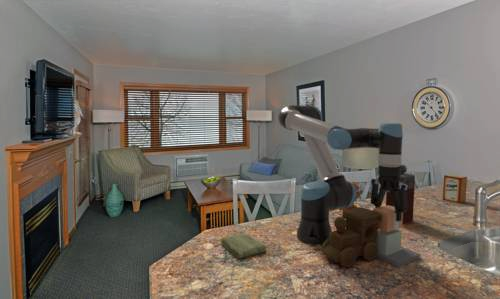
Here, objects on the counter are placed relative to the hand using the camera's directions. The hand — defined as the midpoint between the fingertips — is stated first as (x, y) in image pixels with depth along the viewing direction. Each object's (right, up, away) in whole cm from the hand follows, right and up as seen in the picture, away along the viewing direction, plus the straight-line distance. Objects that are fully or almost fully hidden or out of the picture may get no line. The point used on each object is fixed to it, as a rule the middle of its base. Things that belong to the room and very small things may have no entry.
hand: (387, 226), depth 107 cm
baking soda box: (+75, -3, +70) cm, 102 cm away
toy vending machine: (+22, -7, +36) cm, 43 cm away
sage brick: (0, -9, +1) cm, 9 cm away
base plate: (0, -10, +1) cm, 10 cm away
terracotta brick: (0, 0, 0) cm, 0 cm away
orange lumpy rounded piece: (+2, -6, +46) cm, 46 cm away
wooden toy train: (-15, -11, -3) cm, 19 cm away
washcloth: (-55, -11, +7) cm, 56 cm away
